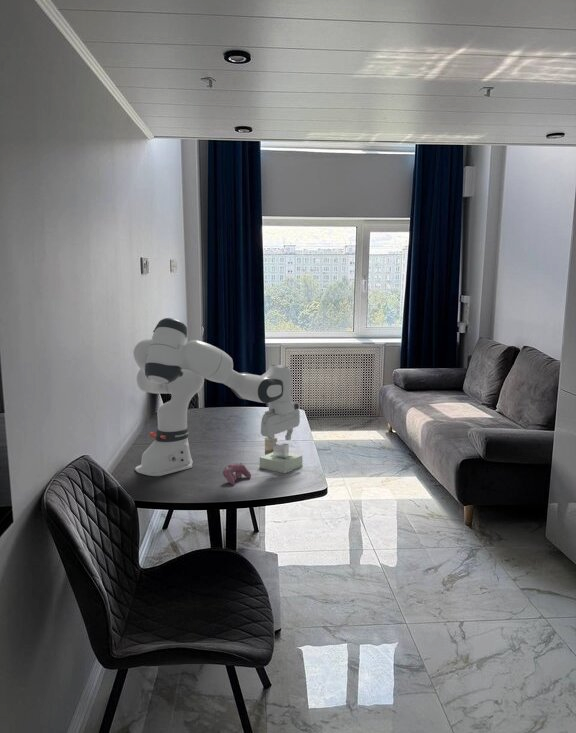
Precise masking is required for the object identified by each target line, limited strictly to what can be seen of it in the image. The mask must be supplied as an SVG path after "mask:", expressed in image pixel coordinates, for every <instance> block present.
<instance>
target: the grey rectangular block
mask: <svg viewBox="0 0 576 733" xmlns="http://www.w3.org/2000/svg"><path fill="white" fill-rule="evenodd" d="M289 444H290V443H286V442H279V441H277V442H276V445H275V446H273V457H276V458H280V459H285V460H286V459H288V458H289V453H290V448H289V447H290V446H289Z"/></svg>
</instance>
